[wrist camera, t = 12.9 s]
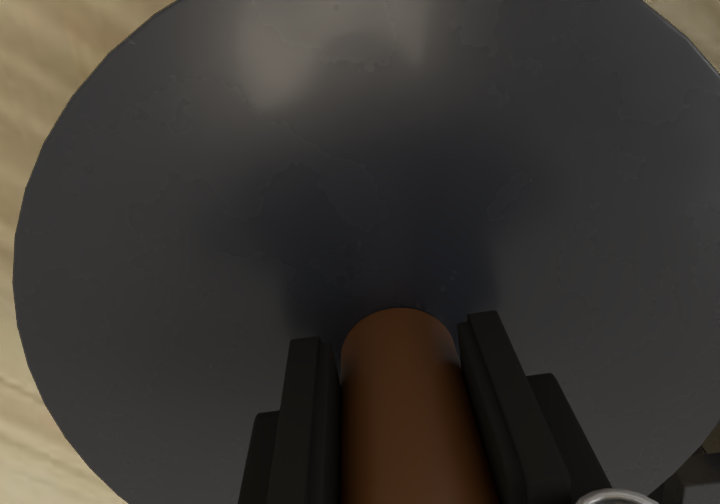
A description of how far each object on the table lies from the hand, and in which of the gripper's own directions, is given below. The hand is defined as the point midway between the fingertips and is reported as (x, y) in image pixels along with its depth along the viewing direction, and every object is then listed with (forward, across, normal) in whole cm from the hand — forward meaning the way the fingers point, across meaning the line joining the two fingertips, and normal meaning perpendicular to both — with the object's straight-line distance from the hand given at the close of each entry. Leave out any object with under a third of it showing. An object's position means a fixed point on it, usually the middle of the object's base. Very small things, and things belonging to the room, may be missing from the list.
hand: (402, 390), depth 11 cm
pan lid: (+2, 0, 0) cm, 2 cm away
